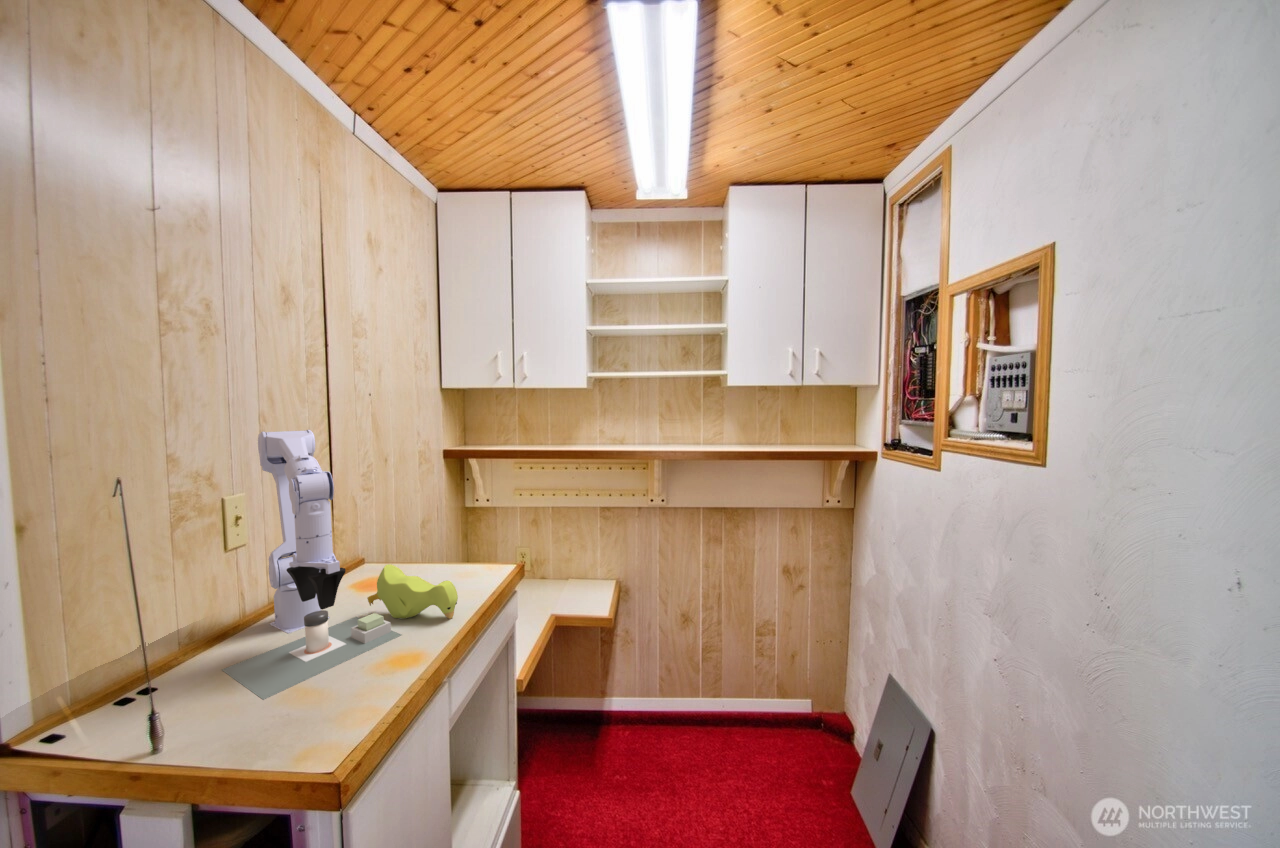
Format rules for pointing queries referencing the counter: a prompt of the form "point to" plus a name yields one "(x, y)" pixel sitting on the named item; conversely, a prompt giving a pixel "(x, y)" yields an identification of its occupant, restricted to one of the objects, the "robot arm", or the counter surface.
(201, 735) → the counter surface
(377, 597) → the toy
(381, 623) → the button
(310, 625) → the jar with dark lid
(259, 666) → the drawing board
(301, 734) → the counter surface
